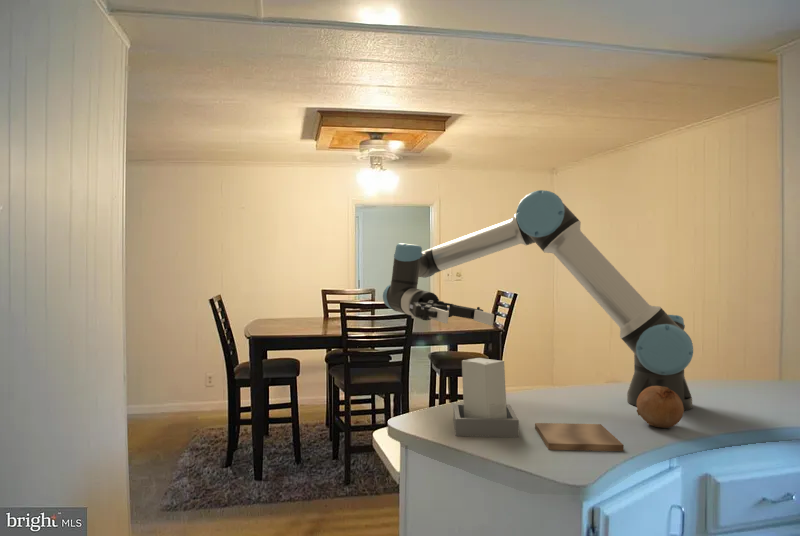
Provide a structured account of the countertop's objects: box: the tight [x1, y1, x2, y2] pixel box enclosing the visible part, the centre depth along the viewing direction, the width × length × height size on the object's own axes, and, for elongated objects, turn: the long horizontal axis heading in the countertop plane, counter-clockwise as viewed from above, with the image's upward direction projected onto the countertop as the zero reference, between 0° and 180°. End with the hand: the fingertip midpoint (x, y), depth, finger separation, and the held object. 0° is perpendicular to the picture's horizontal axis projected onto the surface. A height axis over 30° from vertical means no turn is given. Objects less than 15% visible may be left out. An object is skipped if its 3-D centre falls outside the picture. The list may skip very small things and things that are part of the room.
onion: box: [636, 386, 685, 429], centre depth 118 cm, size 10×9×10 cm
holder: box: [452, 403, 520, 438], centre depth 116 cm, size 13×13×4 cm
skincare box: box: [461, 357, 507, 419], centre depth 116 cm, size 8×6×15 cm
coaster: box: [534, 422, 625, 452], centre depth 108 cm, size 14×14×1 cm
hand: (470, 318), depth 124 cm, fingers open, 13 cm apart
